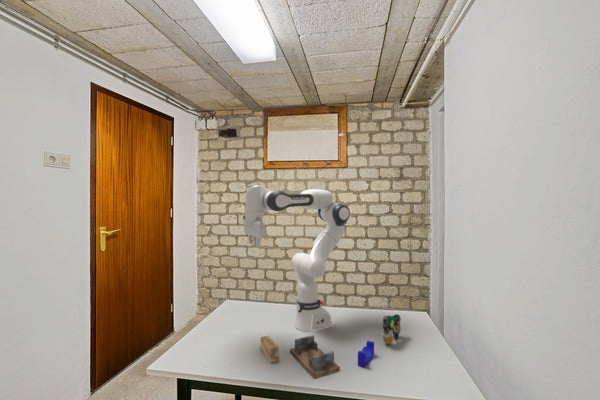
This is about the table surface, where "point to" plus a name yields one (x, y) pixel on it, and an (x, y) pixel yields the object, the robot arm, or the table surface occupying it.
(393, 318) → the spray gun
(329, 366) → the wooden clamp fixture
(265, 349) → the top rail
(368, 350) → the cable clip
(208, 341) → the table surface
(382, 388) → the table surface
